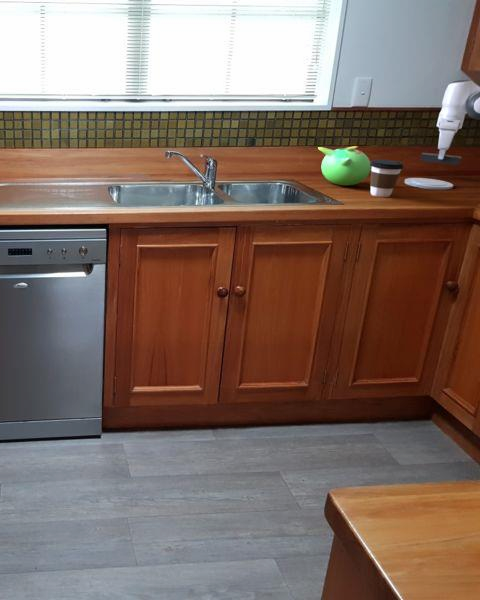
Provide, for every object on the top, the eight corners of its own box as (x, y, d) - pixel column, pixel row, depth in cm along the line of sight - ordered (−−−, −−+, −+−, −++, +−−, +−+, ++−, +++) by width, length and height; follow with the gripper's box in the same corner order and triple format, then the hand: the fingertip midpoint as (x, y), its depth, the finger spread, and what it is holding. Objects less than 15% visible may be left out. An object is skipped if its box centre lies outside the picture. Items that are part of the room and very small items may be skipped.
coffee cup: (397, 194, 222) (405, 161, 218) (395, 200, 213) (403, 166, 209) (365, 190, 227) (372, 158, 222) (362, 196, 218) (369, 162, 213)
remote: (420, 160, 249) (421, 153, 247) (420, 159, 252) (422, 152, 250) (459, 165, 242) (461, 157, 241) (459, 163, 245) (461, 155, 244)
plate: (453, 183, 242) (454, 180, 242) (452, 191, 229) (453, 188, 228) (406, 178, 250) (406, 175, 249) (402, 185, 236) (403, 182, 236)
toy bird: (375, 188, 231) (384, 148, 225) (343, 191, 224) (351, 151, 218) (338, 178, 246) (345, 141, 240) (307, 181, 239) (314, 143, 233)
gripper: (441, 119, 250) (433, 153, 256) (439, 124, 234) (430, 160, 240) (459, 121, 247) (450, 155, 253) (458, 126, 231) (448, 162, 237)
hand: (440, 158), depth 246 cm, fingers closed on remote, 4 cm apart
